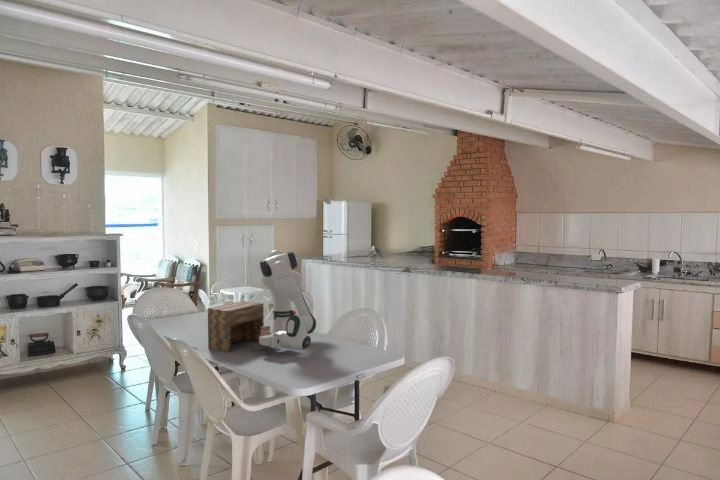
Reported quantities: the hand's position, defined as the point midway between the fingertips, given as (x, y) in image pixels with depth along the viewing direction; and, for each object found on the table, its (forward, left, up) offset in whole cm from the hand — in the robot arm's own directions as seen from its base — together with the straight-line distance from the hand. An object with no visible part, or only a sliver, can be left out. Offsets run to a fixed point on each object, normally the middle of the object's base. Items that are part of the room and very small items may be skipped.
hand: (264, 335), depth 285 cm
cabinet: (+12, -17, -8) cm, 22 cm away
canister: (-1, +1, -6) cm, 6 cm away
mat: (-1, +1, -8) cm, 8 cm away
